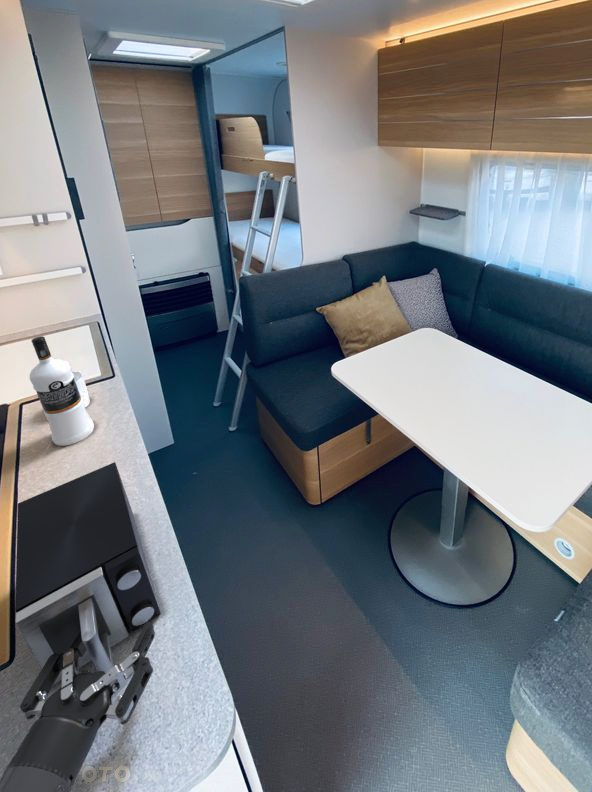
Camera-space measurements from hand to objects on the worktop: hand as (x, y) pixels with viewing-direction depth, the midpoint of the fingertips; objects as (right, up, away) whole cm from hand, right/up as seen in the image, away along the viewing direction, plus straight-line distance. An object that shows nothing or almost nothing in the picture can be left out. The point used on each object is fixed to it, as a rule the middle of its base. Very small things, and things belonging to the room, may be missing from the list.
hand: (123, 623), depth 61 cm
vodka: (-43, +11, +49) cm, 67 cm away
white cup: (-51, +15, +60) cm, 81 cm away
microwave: (-11, -4, +12) cm, 17 cm away
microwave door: (-5, -8, +1) cm, 10 cm away
